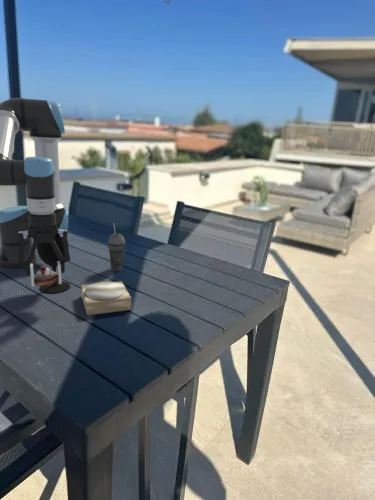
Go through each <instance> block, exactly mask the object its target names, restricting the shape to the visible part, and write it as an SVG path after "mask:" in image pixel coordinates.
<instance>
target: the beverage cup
mask: <svg viewBox="0 0 375 500" xmlns="http://www.w3.org/2000/svg"><path fill="white" fill-rule="evenodd" d="M112 223H113V230H114V231H113V232H114V233H113V234H111V235H110V236H109V237H108V239H107V245H108V246H107V247H108V251H109V263H110V270H111V271H113V272H119V271H122V270H123V264H124V256H125V255H124V253H125V247H126V240H125V237H124V236H123V234H121V233H118V232H116V226H115V224H116V223H115V222H112Z"/></svg>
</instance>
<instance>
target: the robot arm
mask: <svg viewBox="0 0 375 500" xmlns="http://www.w3.org/2000/svg"><path fill="white" fill-rule="evenodd" d="M18 132H26V133H27V132H29V133H28V134H29V137H30V138H31V140H32V141H33V142H34V153H35V154H34V155H35V156H28V157H25V158H24V160H22V159H21V160H18V159H17V160H16V159H13V154H14V148H15V147H14V146H15V140H16V134H18ZM65 134H66V129H65V124H64V118H63V112H62V106H61V105H60V103H58V102H57V101H54V100H48V99H47V100H45V99H32V98H22V97H13V98H8V99H6V100H3V101H1V102H0V186H17V187H18V186H19V187H20V186H25V188H26V203H27V205H16V206H9V207H6V208H3V209H1V210H0V244H1V245H0V267H3V268H10V269H11V268H12V269H13V268H14V269H15V268H25V269H26V270H25V271H26V276H27V277H30V281H31V288H33V287H35V283H34V278H35V275H34V265H35V264H36V263H37V262H38V261H39V259H38V258H39V256H38V252H37V245H38V243H43V242H45V243H50V244H51V245H52V247H53V249H54V251H55V253H56V255H57V257H58V259H59V261H60V262H58V266H57V273H58V278H59V280H58V281H59V284H62V281H63V280H62V274H64V273H65V271H66V270H65V269H66V267H65V265H66V263H67V262H71V255H70V250H69V249H70V248H69V249H68V244H69V243H68V244H67V240H68V226H69V225H68V224H69V210H68V209H67V208H66V206H65V204H63V202H62V201H61V199H62V198H61V184H60V183H61V182H60V163H59V162H60V161H59V142H60V141H61V140H62V137H63V136H62V135H65ZM57 233H59V234H60V237H62V241H63V246H64V251H65V256H66V257H63V256H62V254H61V252H60V250H59V248H58V246H57V244H56V242H55V240H54V238H55V236H56V235H57Z"/></svg>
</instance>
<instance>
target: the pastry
mask: <svg viewBox="0 0 375 500" xmlns="http://www.w3.org/2000/svg"><path fill="white" fill-rule="evenodd" d="M58 281H59V278H58V272H57V271H56V272H54V271H53V270H51V269H50V268H49V267H46V266H45V265H42V266H41V267H40V268H39V269H37V272H35V276H34V286H37V287H41V286H50V285H53V284H55V283H57V282H58Z"/></svg>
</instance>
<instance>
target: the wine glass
mask: <svg viewBox="0 0 375 500" xmlns="http://www.w3.org/2000/svg"><path fill="white" fill-rule="evenodd" d="M54 240H55V242H56V244H57V246H58V248H59V250H60V252H61V254H62V256H63V257H66V256H65V251H64V246H63V241H62V237H60V234H59V233H57V235H56V236H55V238H54ZM67 244H68V249H70V246H69V240H68V239H67ZM36 253H37V256H38V258H40V260H41V261H42V262H43V263H44V264H46V265H47V266H49V267H51V271H54V272H56V273H57V268H58V262H60V261H59V259H58V257H57V255H56V253H55V251H54V249H53V247H52V245H51V244H50V243H45V242H43V243H38V245H37V247H36ZM61 281H62V284H59V280H58V282H57V283H55V284H53V285H50V286H39V290H40V291H41V292H42V293H45V294H61V293H64V292H66V291H68V290H70V289H71V284H70V283H69V282H68V281H63V280H61Z"/></svg>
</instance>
